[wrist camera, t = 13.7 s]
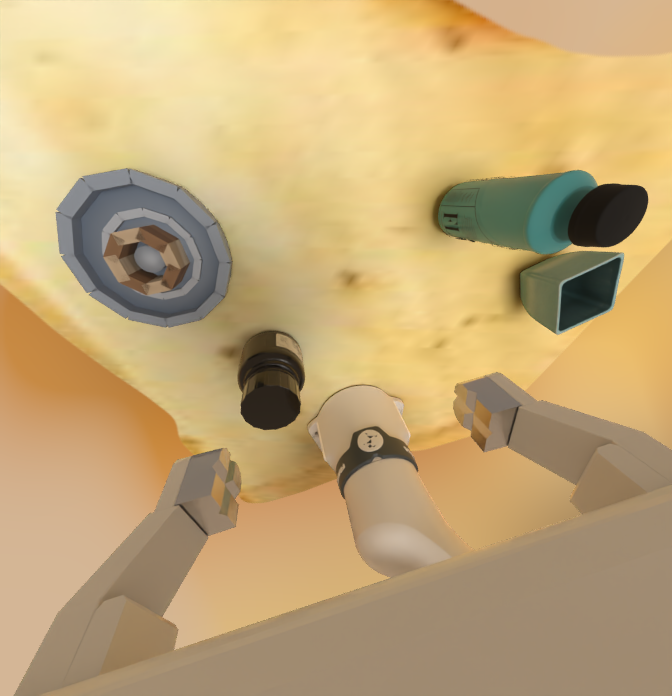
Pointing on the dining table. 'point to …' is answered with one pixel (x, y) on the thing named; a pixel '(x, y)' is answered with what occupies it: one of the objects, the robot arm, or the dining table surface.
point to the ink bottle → (271, 380)
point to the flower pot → (571, 288)
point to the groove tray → (143, 245)
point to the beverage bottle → (543, 211)
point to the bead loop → (127, 269)
